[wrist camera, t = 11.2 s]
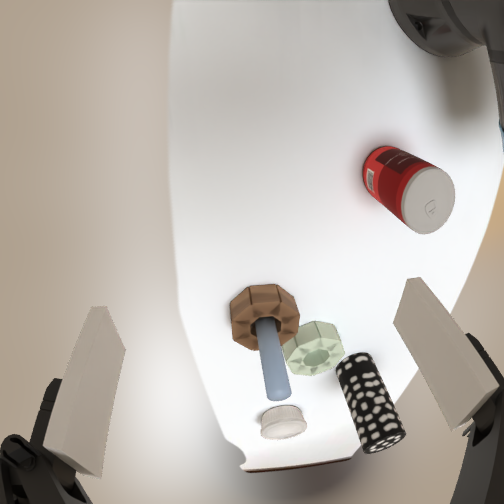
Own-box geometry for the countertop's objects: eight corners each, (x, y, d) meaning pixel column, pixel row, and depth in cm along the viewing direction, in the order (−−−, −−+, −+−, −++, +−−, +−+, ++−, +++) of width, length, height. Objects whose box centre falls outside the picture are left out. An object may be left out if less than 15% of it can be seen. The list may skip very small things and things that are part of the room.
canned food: (382, 209, 40) (424, 246, 31) (349, 173, 37) (391, 205, 28) (416, 172, 38) (464, 201, 28) (386, 133, 34) (437, 153, 25)
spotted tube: (377, 361, 59) (411, 435, 42) (346, 380, 61) (373, 455, 44) (361, 347, 56) (398, 429, 38) (328, 368, 58) (356, 451, 41)
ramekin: (270, 427, 70) (273, 443, 65) (249, 413, 64) (252, 431, 60) (309, 413, 68) (313, 430, 63) (292, 397, 62) (296, 416, 58)
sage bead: (330, 314, 49) (337, 330, 46) (341, 346, 54) (347, 361, 51) (276, 335, 50) (280, 353, 47) (293, 365, 56) (297, 381, 52)
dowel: (272, 302, 46) (292, 387, 33) (271, 316, 48) (290, 399, 34) (252, 303, 46) (267, 390, 32) (252, 317, 48) (266, 402, 34)
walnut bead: (295, 282, 45) (301, 299, 42) (291, 329, 50) (296, 346, 47) (228, 287, 44) (230, 305, 41) (232, 334, 49) (233, 352, 46)
